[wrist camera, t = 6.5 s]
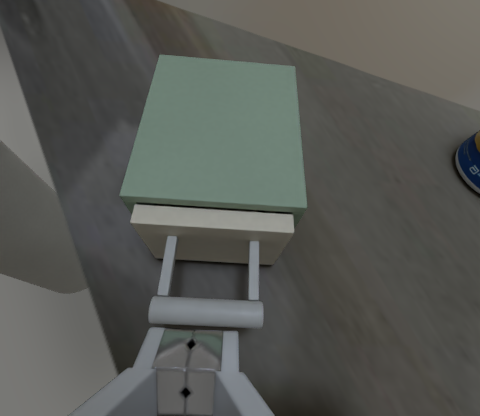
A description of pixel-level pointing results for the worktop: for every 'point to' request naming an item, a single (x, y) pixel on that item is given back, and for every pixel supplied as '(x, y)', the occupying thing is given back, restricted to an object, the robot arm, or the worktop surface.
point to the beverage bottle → (470, 161)
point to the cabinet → (219, 138)
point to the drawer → (210, 257)
